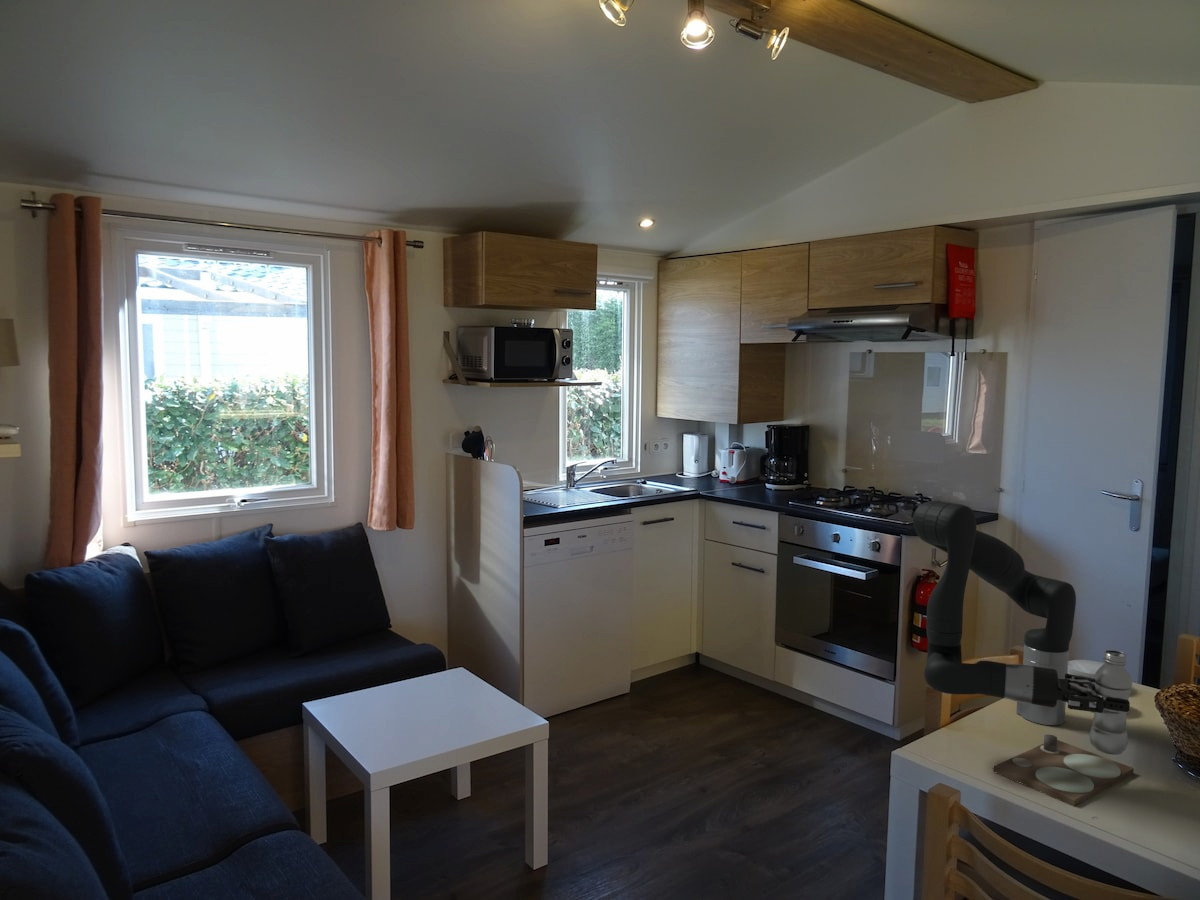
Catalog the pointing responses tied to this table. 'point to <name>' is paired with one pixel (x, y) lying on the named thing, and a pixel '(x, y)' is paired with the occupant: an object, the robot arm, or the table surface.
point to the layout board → (1064, 770)
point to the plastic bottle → (1111, 723)
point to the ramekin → (1084, 668)
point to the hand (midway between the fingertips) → (1126, 699)
